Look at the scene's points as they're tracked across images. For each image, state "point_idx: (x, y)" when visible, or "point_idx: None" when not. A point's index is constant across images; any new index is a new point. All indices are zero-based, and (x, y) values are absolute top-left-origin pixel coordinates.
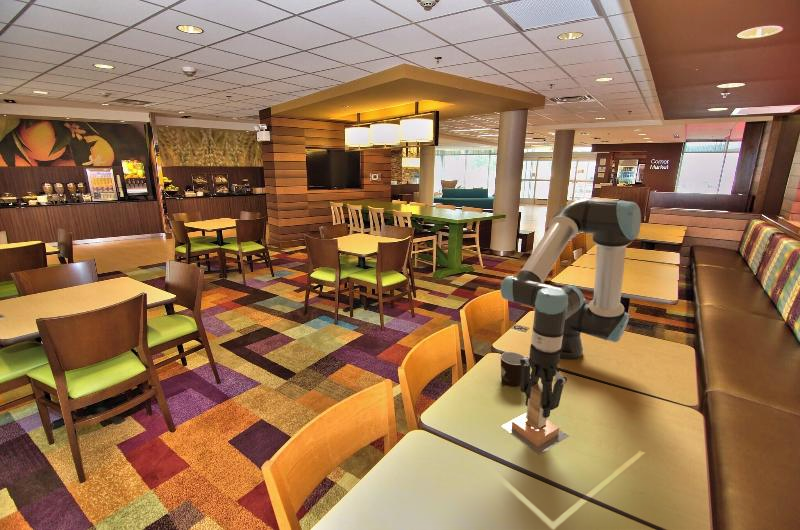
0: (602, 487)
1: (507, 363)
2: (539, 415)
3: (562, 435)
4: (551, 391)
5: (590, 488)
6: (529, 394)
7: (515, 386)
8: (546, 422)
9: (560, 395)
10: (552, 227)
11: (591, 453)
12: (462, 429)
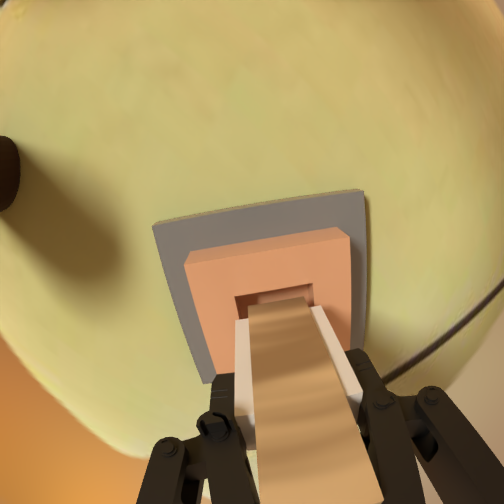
0: (484, 262)
1: None
2: None
3: (350, 216)
4: (419, 488)
5: (471, 290)
6: (251, 475)
7: (12, 179)
8: (293, 267)
9: (489, 457)
10: None
11: (432, 178)
12: (176, 436)
